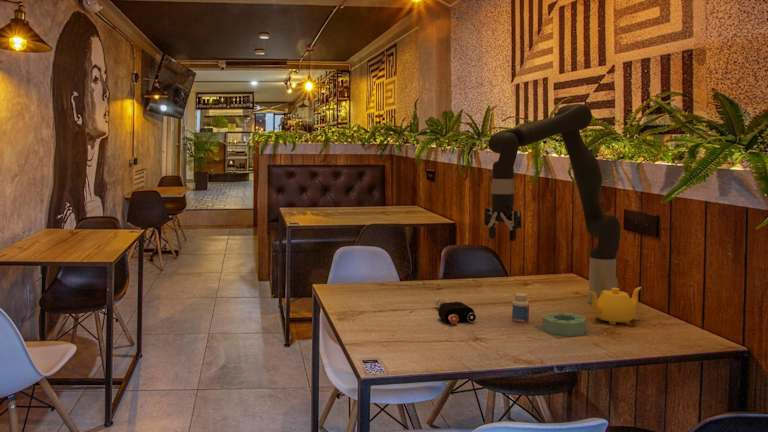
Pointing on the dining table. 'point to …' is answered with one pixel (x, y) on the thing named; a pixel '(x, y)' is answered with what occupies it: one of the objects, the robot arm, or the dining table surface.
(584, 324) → the green faceted planter
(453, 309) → the audio adapter
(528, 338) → the dining table surface
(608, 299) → the teapot
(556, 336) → the felt mat
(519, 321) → the pill bottle
